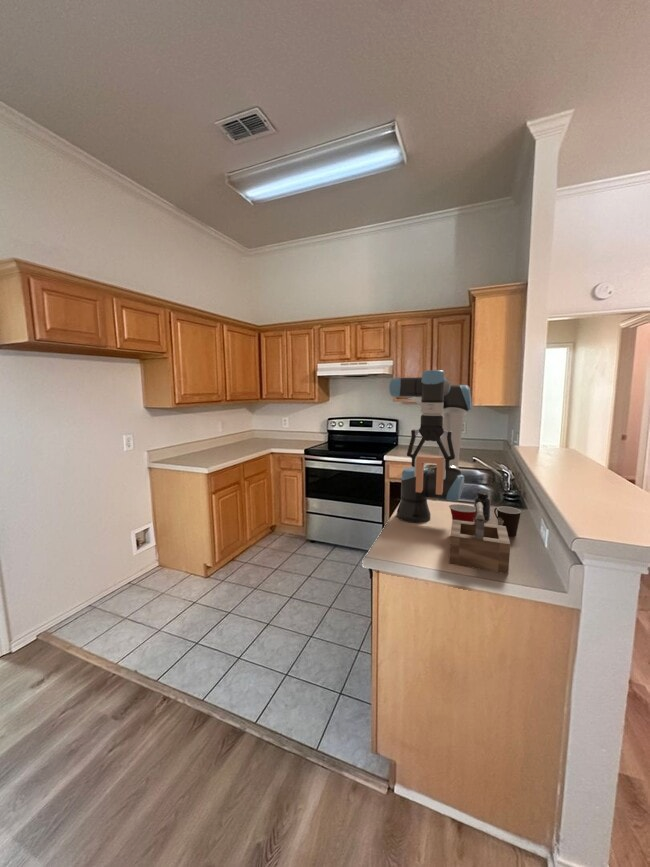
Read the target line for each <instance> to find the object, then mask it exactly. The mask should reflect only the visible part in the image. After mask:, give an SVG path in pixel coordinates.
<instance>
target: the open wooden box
mask: <svg viewBox="0 0 650 867" xmlns="http://www.w3.org/2000/svg"><path fill="white" fill-rule="evenodd" d="M450 528H451V529H450V534H449V537H450V538H449V556H448V559H449V560H448V564H449V565H454V566H461V567H466V568H472V569H476V568H477V569H478V570H484V571H489V572H493V573H494V572H495V573H500V572H502V573H501V574H506V573H508V574H509V571H510V570H509V569H510V554H511V553H510V552H511V541H510V537H508V533H507V529H506V526H500V525H498V524H491V523H485V520H484V516H483V505H482V503H481V502H478V503H477V504H476V511H475V517H474V522H468V521H460V520H452V522H451V527H450ZM477 569H476V570H477Z"/></svg>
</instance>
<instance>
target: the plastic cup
mask: <svg viewBox="0 0 650 867" xmlns="http://www.w3.org/2000/svg"><path fill="white" fill-rule="evenodd" d="M448 507H449V509H450V515H451V519H452V520H460V521H468V522H475V511H476V507H474V505H469V504H460V503H459V504H456V503H455V504H450V505H449V506H448Z"/></svg>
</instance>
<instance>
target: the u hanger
mask: <svg viewBox="0 0 650 867" xmlns="http://www.w3.org/2000/svg"><path fill="white" fill-rule="evenodd" d="M416 458H417V459H416V492H420V493H421V492H422V490H423V471H424V467H425V464H436V466H437V472H436V494H438V495H442V493H443V479H442V478H443V460H444V457H443V456H439V455H428V454H427V455H426V454H417V456H416Z"/></svg>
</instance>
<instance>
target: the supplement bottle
mask: <svg viewBox="0 0 650 867" xmlns="http://www.w3.org/2000/svg"><path fill="white" fill-rule="evenodd" d="M489 497H490V496H489V492H488V491H482V490H480V491H477V493H476V497H475V498H474V500H473V502H474V503H473V507H476V504H477V503H478V502H481V503H482V505H483V516H484V521H488V520H490V517H491V516H490V515H491V499H489Z"/></svg>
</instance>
